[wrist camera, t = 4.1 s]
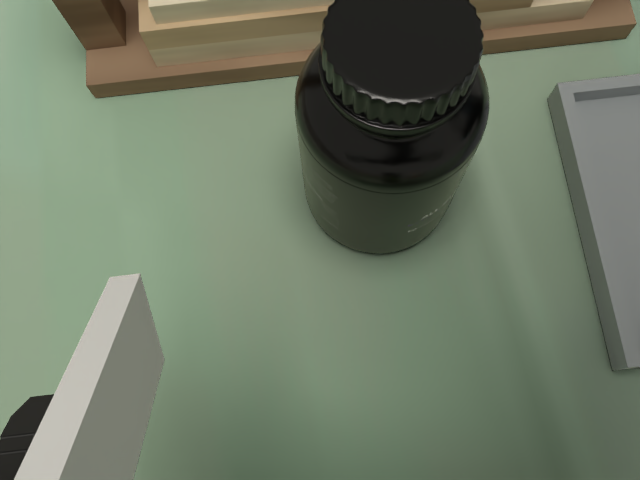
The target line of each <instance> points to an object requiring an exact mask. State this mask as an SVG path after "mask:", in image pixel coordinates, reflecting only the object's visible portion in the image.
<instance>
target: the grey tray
mask: <svg viewBox="0 0 640 480" xmlns="http://www.w3.org/2000/svg"><path fill="white" fill-rule="evenodd" d="M547 100H548V104H549V108H550V112H551V117H552V121H553V125H554V129H555V133H556V137H557V142H558V146H559V150H560V154H561V158H562V162H563V167H564V171H565V175H566V179H567V183H568V187H569V192H570V196H571V200H572V204H573V208H574V212H575V217H576V221H577V225H578V229H579V233H580V237H581V242H582V246H583V250H584V254H585V258H586V262H587V267H588V271H589V275H590V279H591V283H592V287H593V292H594V296H595V300H596V304H597V308H598V312H599V317H600V321H601V325H602V329H603V333H604V338H605V342H606V346H607V350H608V354H609V358H610V363H611V367H612V371H614V370H623V369H632V368H640V74H633V75H624V76H615V77H606V78H598V79H589V80H580V81H571V82H562V83H557V85H556V86H555V88H554V89H553V91H552V93H551V94H550V96H549V97H548V99H547Z"/></svg>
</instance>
